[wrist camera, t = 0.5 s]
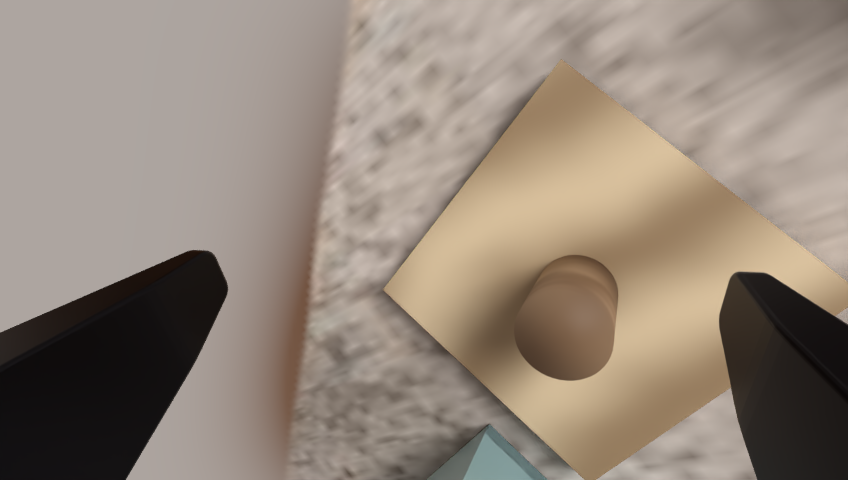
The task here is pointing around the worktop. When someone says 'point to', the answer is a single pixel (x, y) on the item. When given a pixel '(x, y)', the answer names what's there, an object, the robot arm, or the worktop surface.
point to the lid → (594, 275)
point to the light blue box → (487, 461)
